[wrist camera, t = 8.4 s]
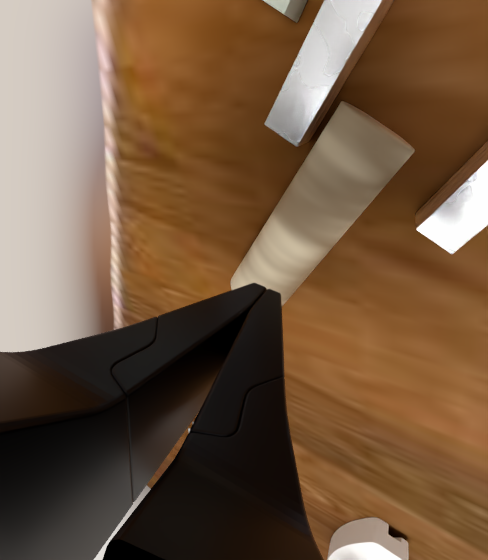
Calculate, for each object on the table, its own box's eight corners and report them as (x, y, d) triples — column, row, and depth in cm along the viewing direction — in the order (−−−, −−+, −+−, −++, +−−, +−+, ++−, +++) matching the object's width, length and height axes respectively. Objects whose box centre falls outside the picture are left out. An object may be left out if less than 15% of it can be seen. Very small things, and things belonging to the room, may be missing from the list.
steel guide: (701, 11, 10) (772, -11, 8) (446, 235, 16) (451, 254, 14) (421, -153, 11) (425, -209, 9) (280, 121, 17) (264, 124, 15)
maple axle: (368, 112, 16) (325, 92, 13) (427, 156, 14) (391, 142, 12) (261, 267, 23) (220, 274, 21) (291, 308, 22) (251, 321, 19)
